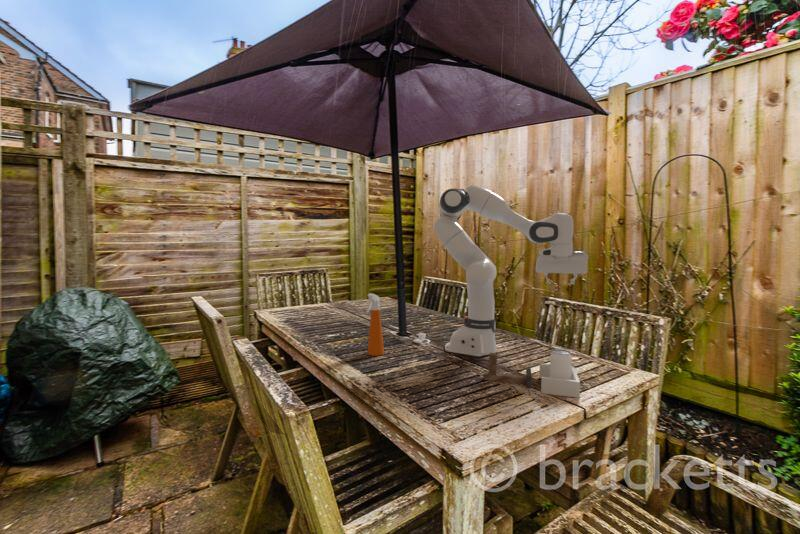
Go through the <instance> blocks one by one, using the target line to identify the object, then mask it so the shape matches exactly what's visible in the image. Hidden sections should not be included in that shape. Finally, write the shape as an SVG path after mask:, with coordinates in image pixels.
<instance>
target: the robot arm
mask: <svg viewBox="0 0 800 534" xmlns="http://www.w3.org/2000/svg"><path fill="white" fill-rule="evenodd" d="M438 207H439V208H438V209H439V217H438V218H436V220H435V221H434V224H433V230H434V233H435V235H436V237H437V238H438V240H439V242H440V243H441V244H442V246H443V247H444V248H445V249H446V251H447V252H448V253H449V255H450V256H451V257H452V258H453V260H454V261H455V262H456V263H458V264H459V265H460V266H461V267H462V269H464V270H465V281H466V291H467V298H468V299H467V300H468V301H467V303H468V309H467V311H468V312H467V313H468V314H467V315H465V316H464V317H463V320H462V323H463V325H462V326H460V327H459V328H458V329H456V330H455V331H453V332H452V335H450V341H448V342H447V343H446V344H445V345H444V350H445V351H446V352H450V353H454V354H461V355H468V356H473V357H482V356H487V355H488V356H489V354H490V353H498V350H499V349H498V348H497V341H496V336H495V333H496V318H495V300H496V299H495V295H494V293H495V292H494V280H496V277H497V273H498V271H497V270H498V269H497V268H496V265H495V264H494V263H493V262H492V261H491V259H490V258H489V257H488V255H486V254H485V253H484V251H483V250H481V249H480V248H479V247H478V246H477V244H476V243H475V242H474V241H473V240H472V238H471V237H470V235H468V234H467V232H466V231H465V230H464V229H463V227H462V226H461V225H460V223H459V219H460V218H461V216H462V214H463V213H464V211H466V210H467V211H472V212H475V213H476V214H478V215H480V217H481V216H482V217H483V218H486V219H488V220H492V221H496V222H499V223H503V224H506V225H507V226H510V227H512V228H513V229H515V230H517V231H518V232H520V233H522V235H524V236H525V238H526V239H527V240H528V242H530V243H532V244H535V245H541V244H545V243H549V244H550V245H549V246H550V247H545V248H543V249H540V250H539V251H538V254H539V256H537V258H536V263H535V272H536V273H538V274H539V273H541V274H543V275H544V277H545V279H546V284H551V279H550V278H548V276H549V274H571V275H573V278H572V279H569V280H570V281H569V283H570V285H575V282H576V281H575V280H577V278H578V276H579V275H585V274H587V273H588V261H589V253H586V252H585V251H574V241H573V236H574V232H575V231H574V230H575V229H574V228H575V227H574V218H573V217H572V215H570V214H568V213H563V212H555V213H552V214H551V215H550V216H548V217H546V218H544V219H543V218H542V219H540V220H537V221H534V220H530V219H528V218H526V217H525V216H522V215H520V214H519V213H517V212H515V211H514V210H513V209H512V208H511V207H510V205H509V204H508V203H507V201H506V200H505V199H504V198H502V197H501V196H500V195H498V194H497V193H495V192H493V191H491V190H489V189H487V188H484V187H482V186H479V185H477V184H476V185H475V184H470V185H468V186H467V187H466V188H465V189H464V188H448V189H446V190H444V192H443V193H442V194H441V196H440V198H439V206H438Z"/></svg>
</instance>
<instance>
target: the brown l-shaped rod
mask: <svg viewBox="0 0 800 534" xmlns="http://www.w3.org/2000/svg"><path fill="white" fill-rule="evenodd" d="M488 357H489V358H488V371H484V372H483V380H484V381H492V382H502V383H510V384H518V385H519V384H520V385H525V388H526V389H532V368H530V367H526V368H525V375H521V374H520V375H518V374H509V373H502V372H501V373H500V372H498V352H496V353H490V354H489V355H488Z"/></svg>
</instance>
